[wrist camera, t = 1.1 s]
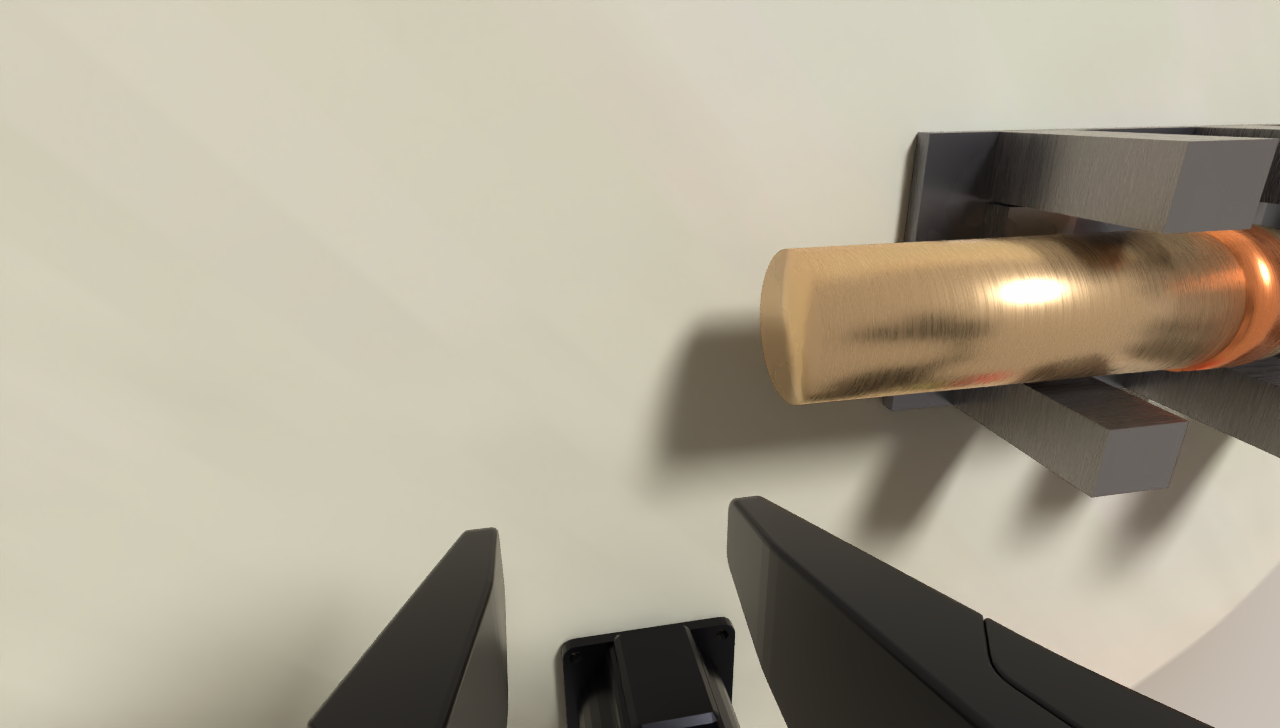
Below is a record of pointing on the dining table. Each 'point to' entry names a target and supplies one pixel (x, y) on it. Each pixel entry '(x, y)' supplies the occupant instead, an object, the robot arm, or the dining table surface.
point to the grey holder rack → (1104, 202)
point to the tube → (1016, 310)
